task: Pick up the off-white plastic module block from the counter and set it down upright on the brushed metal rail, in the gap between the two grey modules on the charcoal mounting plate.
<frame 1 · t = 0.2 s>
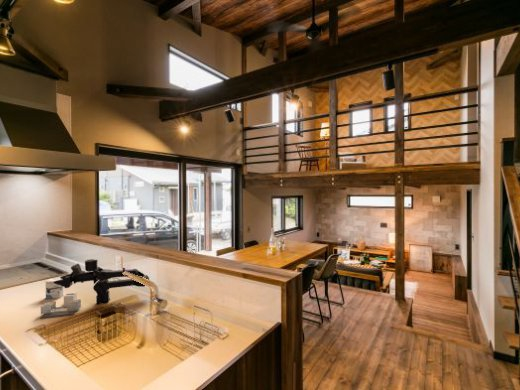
hand: (57, 279, 167), 17 cm above the worktop, tool horizontal, fingers open, 9 cm apart
din rail: (61, 312, 159), on the worktop
ink box: (54, 297, 182), on the worktop
logic module: (70, 303, 172), on the worktop
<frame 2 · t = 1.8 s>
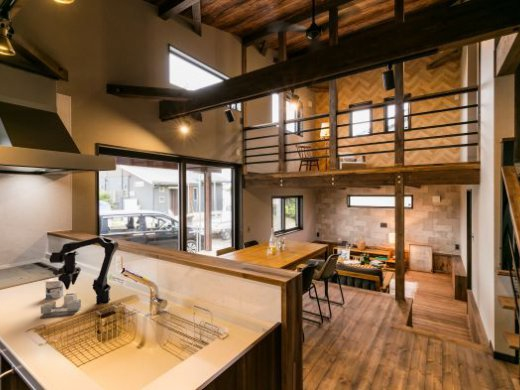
hand: (70, 286, 172), 11 cm above the worktop, tool pointing down, fingers open, 9 cm apart
nothing on the worktop moved.
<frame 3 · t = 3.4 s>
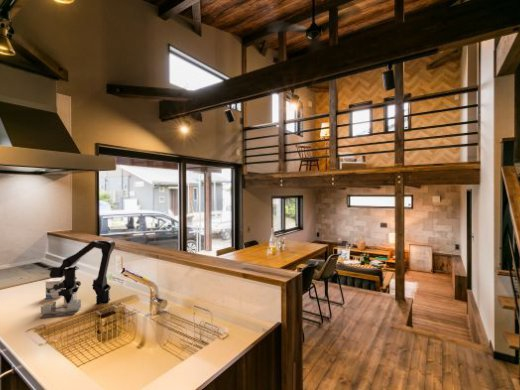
hand: (70, 301, 172), 1 cm above the worktop, tool pointing down, fingers closed on logic module, 6 cm apart
logic module: (70, 303, 172), on the worktop, touching gripper
everything else where it was.
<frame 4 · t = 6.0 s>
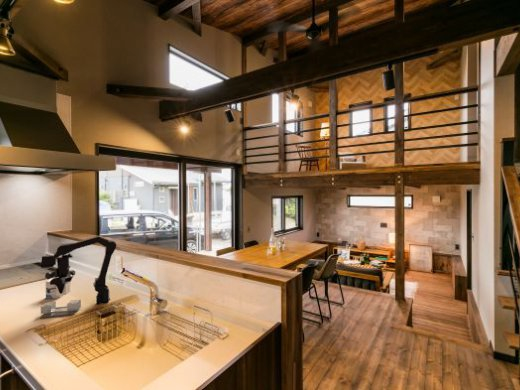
hand: (63, 291, 163), 11 cm above the worktop, tool pointing down, fingers closed on logic module, 6 cm apart
logic module: (63, 293, 163), point 10 cm above the worktop, touching gripper
everything else where it was.
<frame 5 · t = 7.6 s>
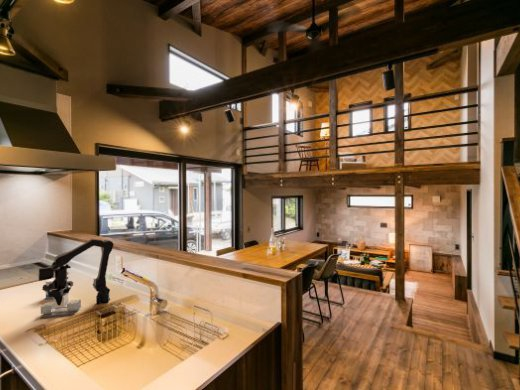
hand: (61, 303, 159), 5 cm above the worktop, tool pointing down, fingers closed on logic module, 6 cm apart
logic module: (61, 305, 159), point 4 cm above the worktop, touching gripper
everything else where it was.
when the fingers open (4 cm above the worktop, at t = 8.8 s): logic module drops 1 cm, resting on din rail.
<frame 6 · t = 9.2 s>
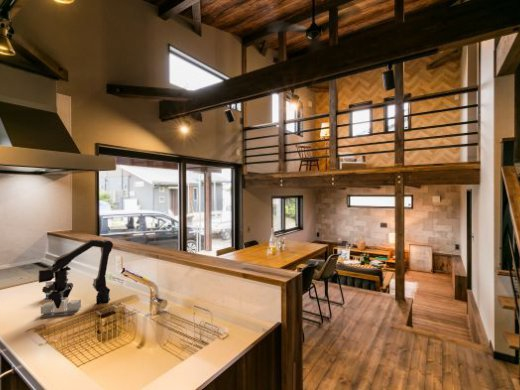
hand: (61, 305, 159), 4 cm above the worktop, tool pointing down, fingers open, 9 cm apart
logic module: (61, 309, 159), point 2 cm above the worktop, touching din rail
everything else where it was.
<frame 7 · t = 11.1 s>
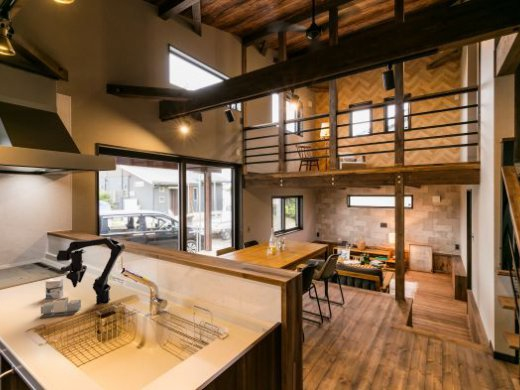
hand: (77, 284, 172), 12 cm above the worktop, tool pointing down, fingers open, 9 cm apart
nothing on the worktop moved.
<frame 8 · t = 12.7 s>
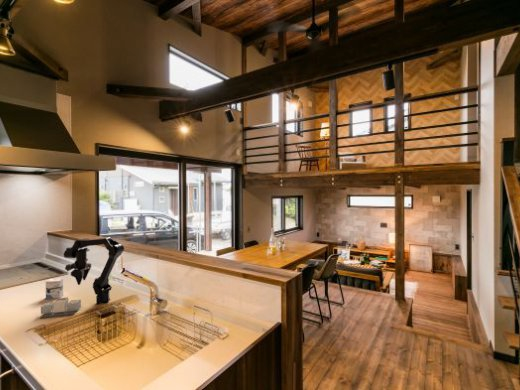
hand: (81, 282, 176), 12 cm above the worktop, tool pointing down, fingers open, 9 cm apart
nothing on the worktop moved.
at the end: logic module 0.0 cm off-centre on the din rail, point 1.6 cm above the din rail's base; logic module tilted 0°; the gripper is holding nothing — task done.
